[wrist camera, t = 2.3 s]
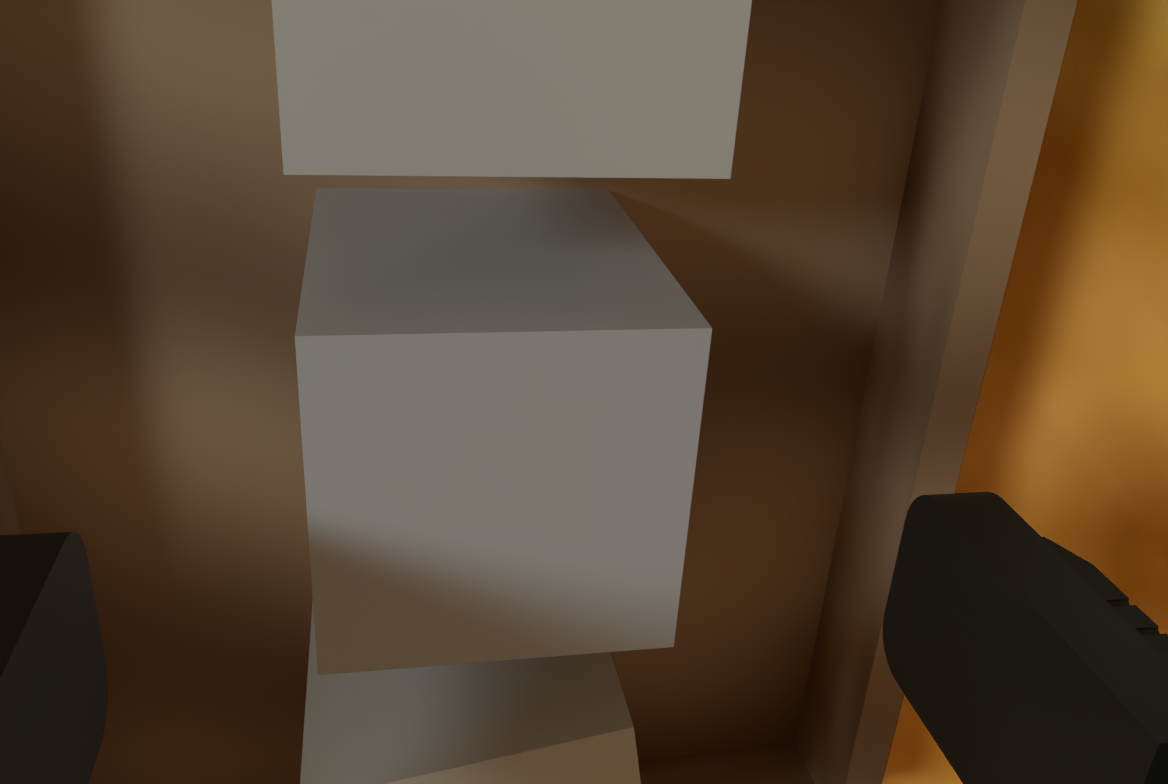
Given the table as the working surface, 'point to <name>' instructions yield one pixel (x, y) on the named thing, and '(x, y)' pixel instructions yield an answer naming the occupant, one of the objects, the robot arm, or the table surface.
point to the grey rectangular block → (510, 87)
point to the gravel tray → (655, 205)
